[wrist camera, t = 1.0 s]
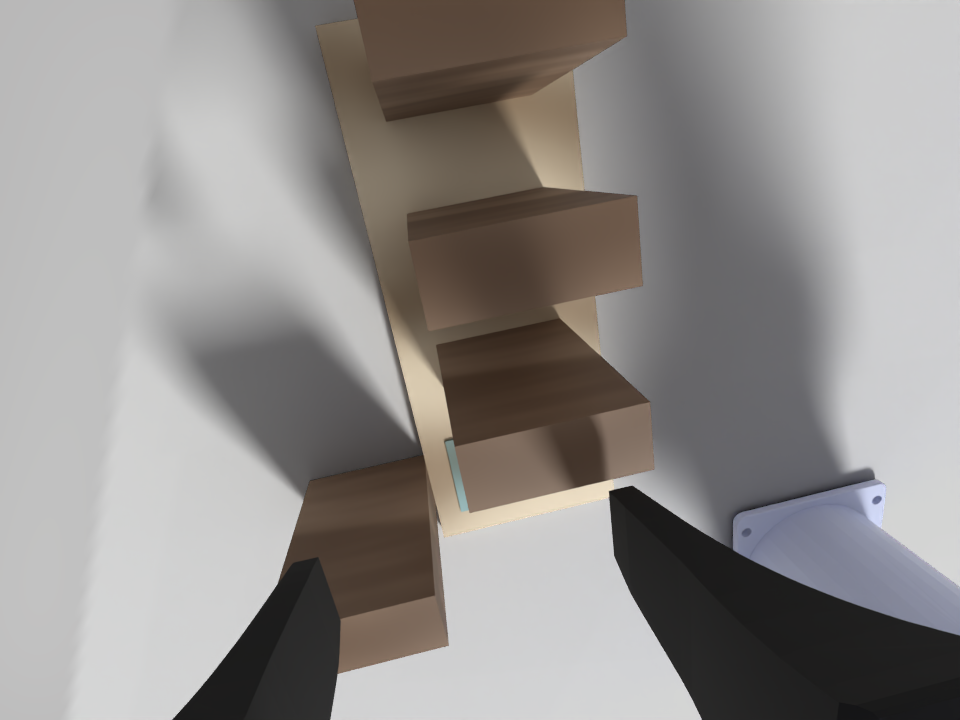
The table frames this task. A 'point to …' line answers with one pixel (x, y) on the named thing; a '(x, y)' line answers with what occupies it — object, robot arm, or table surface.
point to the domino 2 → (478, 48)
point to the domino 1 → (377, 559)
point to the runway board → (442, 182)
